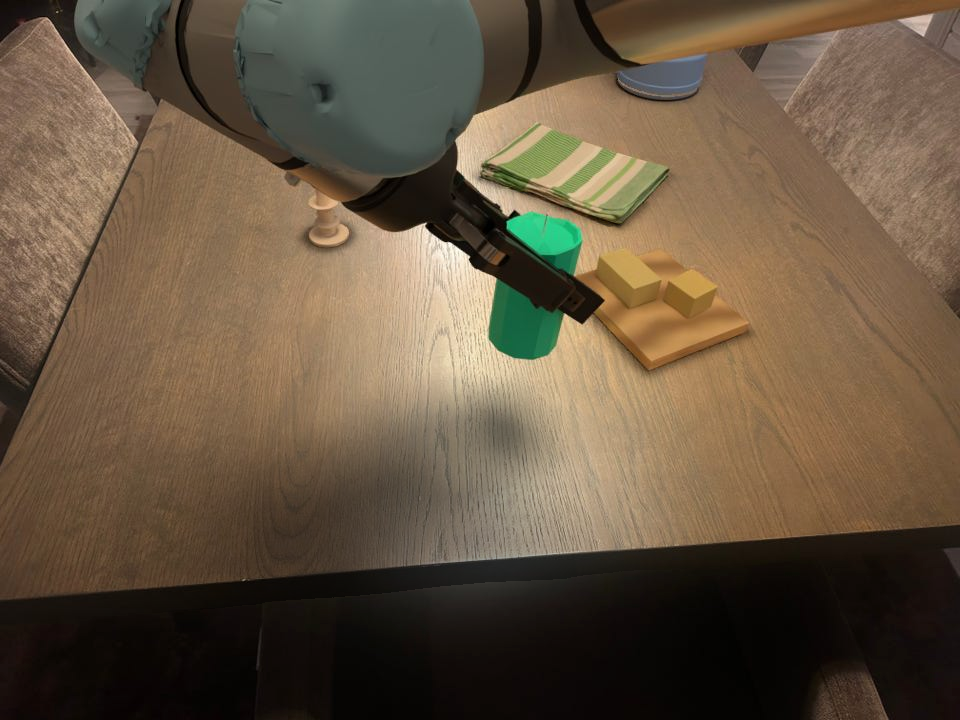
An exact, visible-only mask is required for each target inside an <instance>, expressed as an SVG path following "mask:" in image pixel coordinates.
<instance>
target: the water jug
mask: <svg viewBox="0 0 960 720" xmlns="http://www.w3.org/2000/svg"><path fill="white" fill-rule="evenodd" d="M708 54H709V53H707V54H701V55H696V56H690V57H684V58H679V59H673V60H667V61H662V62H656V63H652V64H648V65H645V66H642V67H637V68H632V69H627V70H622V71H617V72H616V73H617V77H618V78H619V80H620V81H621V82H622V83H624V84H625V85H627V86H628V87H631V88H634V89H637V90H639V91H644V92H647V93H651V94H657V95H672V94H675V95H676V94H682V93H687V92H690V91H693V90H695V89H696V88H698V86H699V85H700V84H701V85H702V82H703V77H704V75H703V74H704V70H705V66H706V62H707V58H708V56H709V55H708ZM617 77H616V76H615V78H616V81H617V84H619V85H620V87H621V88H623V89H624V90H626V92H628V93H630V94H633V95H635V96H638V97H642V98H646V99H649V100H650V99H651V100H656V101H657V100H659V101H675V100H681V99H685V98H688V97H691V96H692V95H694V94H696V93H697V92H698V90H696V91H695V92H693V93H691V94H687V95H683V96H675V97H661V96H652V95H647V94H643V93H639V92H636V91H633V90H631V89H629V88H627V87H625V86H623V85H622V84H621V83H620V82H619V81H618V80H617ZM701 85H700V86H701Z"/></svg>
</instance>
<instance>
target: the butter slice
mask: <svg viewBox="0 0 960 720" xmlns="http://www.w3.org/2000/svg"><path fill="white" fill-rule="evenodd" d="M718 288H719V286H718V285H717V284H715V283H714V282H712V281H711V280H709V279H708V278H707V277H705V276H703V275H702V274H701V273H699V272H698V271H697V270H694V269H693V268H691V269H688V270H687V272H685V273H683V274H681V275H679V276H677V277H675V278H673V279H670V280H669V281H668V284H667V288H666V291H665V295H664V298H663V301H665V302H666V303H668V304H669V305H670V306H672V307H673V308H674V309H676V310H677V311H678V312H680V313H681V314H683V315H684V316H685V317H687V318H690V317H692V316H694V315H696V314H698V313H700V312H701V311H703V310H705V309H707V308H709V307H711V306H712V303H713V300H714V297H715V294H716V295H717V291H718Z"/></svg>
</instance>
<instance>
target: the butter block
mask: <svg viewBox="0 0 960 720" xmlns="http://www.w3.org/2000/svg"><path fill="white" fill-rule="evenodd" d="M636 256H637V255H635V253H633V252H632V251H631V250H630V249H629V248H628V247H623V248H619V249H616V250H613V251H610V252H606V253H603V254H599V256H598V260H597V264H596V269H597V270H596V269H595V270H596V276H597V277H598V278H599V279H600V280H601V281H602V282H603V283H604V284H605V285H606V286H607V287H608V288H609V289H610V290H611V291H612V292H613V293H614V294H615V295H616V296H617V297H618V298H619V299H620V300H621V301H622V302H623V303H624V304H625V305H626V306H627V307H628V308H629V309H630V308H633V307H636V306H639V305H642V304H645V303H647V302H650V301H653V300H656V299H657V296H658V292H659V289H660V285H661V281H662V279H661V278H660V277H659V276H657V275H656V274H655V273H654V272H653V271H652V270H651V269H650V268H649V267H647V266H646V265H645V264H644V263H643V262H642V261H641V260H640V259H638V258H637V257H636Z"/></svg>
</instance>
